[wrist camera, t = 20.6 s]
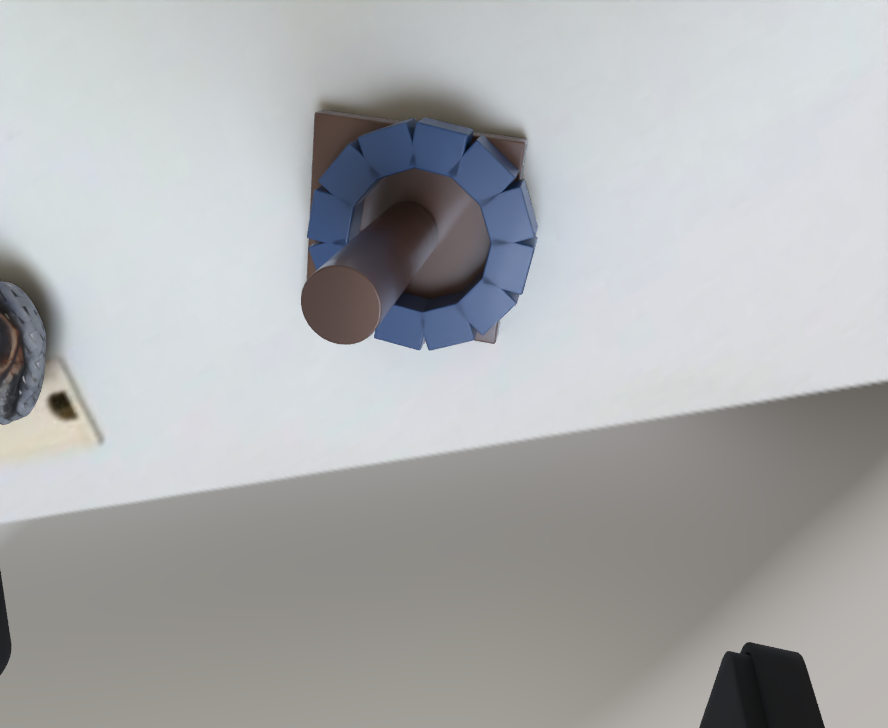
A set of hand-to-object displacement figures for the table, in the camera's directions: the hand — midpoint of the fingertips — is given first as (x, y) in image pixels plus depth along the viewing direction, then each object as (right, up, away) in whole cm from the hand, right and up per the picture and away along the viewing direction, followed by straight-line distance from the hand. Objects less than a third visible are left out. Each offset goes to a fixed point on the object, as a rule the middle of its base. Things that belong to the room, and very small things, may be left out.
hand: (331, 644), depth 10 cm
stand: (0, +9, +22) cm, 24 cm away
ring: (+1, +9, +21) cm, 23 cm away
